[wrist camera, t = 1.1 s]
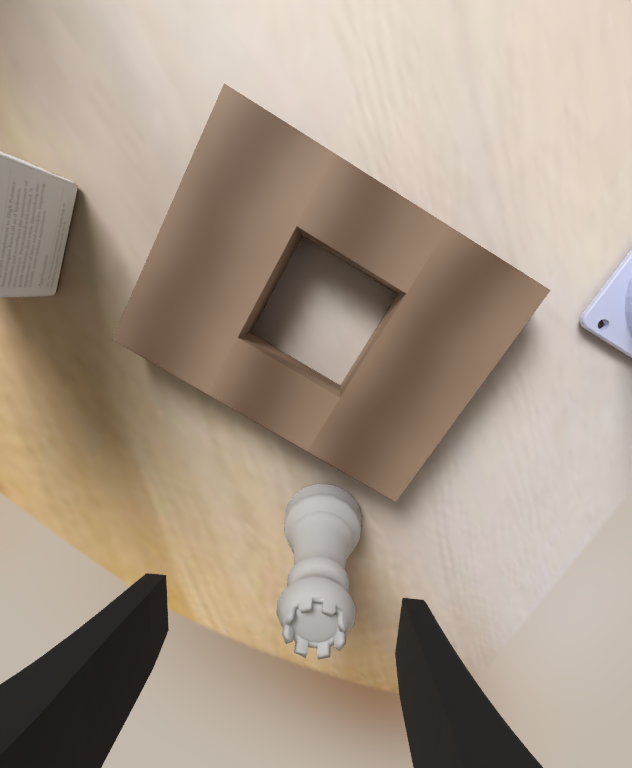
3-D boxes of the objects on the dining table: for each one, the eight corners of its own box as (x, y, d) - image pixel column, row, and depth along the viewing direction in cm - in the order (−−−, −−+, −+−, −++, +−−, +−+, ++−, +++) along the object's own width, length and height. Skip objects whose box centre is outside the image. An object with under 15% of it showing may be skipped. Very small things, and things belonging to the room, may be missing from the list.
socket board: (522, 290, 18) (550, 290, 16) (389, 478, 21) (395, 501, 19) (240, 113, 17) (224, 83, 15) (139, 334, 20) (111, 339, 18)
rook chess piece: (377, 510, 22) (397, 630, 14) (329, 559, 23) (322, 697, 15) (317, 464, 21) (305, 561, 14) (271, 517, 22) (234, 635, 14)
